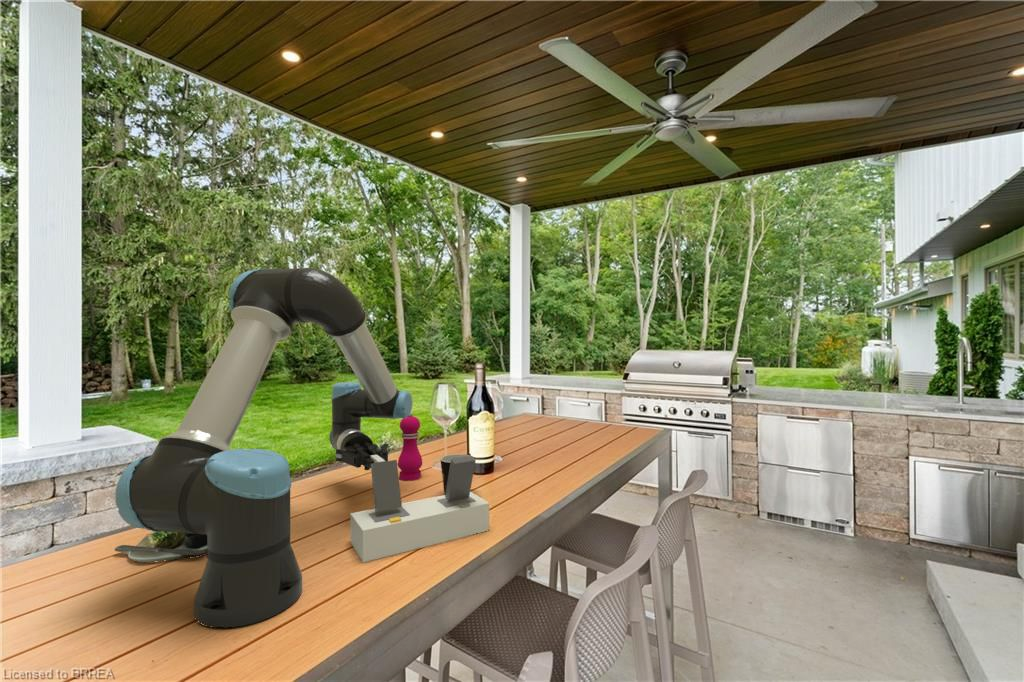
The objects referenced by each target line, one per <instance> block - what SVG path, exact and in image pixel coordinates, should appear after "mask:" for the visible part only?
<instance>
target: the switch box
mask: <svg viewBox="0 0 1024 682" xmlns="http://www.w3.org/2000/svg"><path fill="white" fill-rule="evenodd" d="M401 503H402V507H400V508H395V509H390V510H385V511H380V512H375V508H372V509H366V510H361V511H356V512H351V513H350V544H351V546H352V547H353V548H354V550H355V552H356V553H357V555H358V557H359V558H360V560H361V562H362V563H366V562H367V563H368V562H371V561H375V560H378V559H382V558H386V557H391V556H394V555H398V554H403V553H406V552H409V551H414V550H418V549H419V550H420V549H421V548H422V549H423V548H425V547H426V548H427V547H430V546H434V545H437V544H438V545H439V544H443V543H447V542H450V541H453V540H457V539H462V538H466V537H469V535H470V536H473V534H474V535H476V533H478V534H481V532H482V533H486V532H489V531H490V502H488V501H487V500H485V499H483V498H482V497H480V496H478V495H477V494H476V493H474V492H472V491H471V490H470V495H469V498H465V499H460V500H455V501H450V502H448V501H447V499H446V498H445V495H438V496H432V497H427V498H422V499H417V500H412V501H407V502H401ZM488 530H489V531H488ZM485 531H486V532H485Z"/></svg>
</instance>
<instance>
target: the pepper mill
mask: <svg viewBox="0 0 1024 682" xmlns="http://www.w3.org/2000/svg"><path fill="white" fill-rule="evenodd" d="M413 415H414V412H413V411H412V410H411V412H410V414H409V416H408V417H406V418H401V420H400V422H399V429H400V430H401V438H402V441H403V442H402V449H401V451H400V454H399V456H398V460H397V467H398V469H399V470H400V472H399V480H401V481H405V480H407V481H408V480H411V481H416V480H415V479H417V480H419V479H421V477H422V471H421V470H420V468H422V467H423V458H422V455H421V453H420V451H419V446H418V438H419V430H420V428H421V421H420V419H419V418H418V417H417V416H413ZM418 478H419V479H418Z"/></svg>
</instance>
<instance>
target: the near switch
mask: <svg viewBox="0 0 1024 682" xmlns="http://www.w3.org/2000/svg"><path fill="white" fill-rule="evenodd" d="M370 473H371V480H372V481H371V483H372V493H373V503H374V509H375V512H380V511H385V510H390V509H395V508H400V507H402V503H403V502H402V496H401V488H400V475H399V467H398V460H397V459H393V460H388V461H385V462H378V463H372V464H371V468H370Z"/></svg>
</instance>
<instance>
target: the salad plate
mask: <svg viewBox="0 0 1024 682" xmlns="http://www.w3.org/2000/svg"><path fill="white" fill-rule="evenodd" d="M114 552H118V553H124V554H126V555H127V557H128V558H129V559H130V560H132V561H135V562H137V563H144V562H155V561H163V562H165V561H164V560H171V561H174V560H173V559H181V560H183V559H182V558H188V559H191V558H190V557H195V558H197V557H196V556H199V557H201V556H200V555H203V554H206V555H207V535H205V534H193V533H182V532H171V531H160V532H153V531H152V532H150V533H146V535H145V536H144V537H143V538H141V540H140V541H139V542H138V543H137V544H136V545H130V544H129V545H127V544H121V545H118V546H115V548H114ZM203 556H204V555H203Z"/></svg>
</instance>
